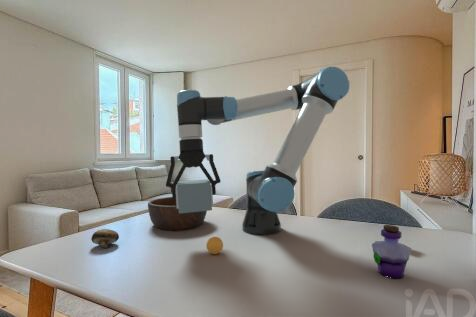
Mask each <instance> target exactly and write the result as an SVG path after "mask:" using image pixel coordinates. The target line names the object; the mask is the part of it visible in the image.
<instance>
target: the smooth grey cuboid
mask: <svg viewBox="0 0 476 317" xmlns="http://www.w3.org/2000/svg"><path fill="white" fill-rule="evenodd" d="M176 188H177V190H178V206H179V213H189V212H199V211H207V212H208V211H209V212H210V211H213V206H212V200H211V183H210V181H209V180H208V178H207V179H195V180H183V181H180V180H179V181H178V183H177V185H176Z"/></svg>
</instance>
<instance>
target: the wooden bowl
mask: <svg viewBox="0 0 476 317" xmlns="http://www.w3.org/2000/svg"><path fill="white" fill-rule="evenodd" d="M147 208H148V216H149V218H150V221H151V223H152V224H153V226H154V227H155V228H156V229H159V230H163V231H183V230H184V231H185V230H190V229H194V228H197V227H200V226H201V225H202V224H203V223H204V220H205V219H206V216H207V212H208V211H199V212H189V213H179V209H177V205H176V198H173V197H172V196H166V197H160V198H154V199H152V200H150V201H148V203H147Z"/></svg>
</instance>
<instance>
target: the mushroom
mask: <svg viewBox="0 0 476 317" xmlns="http://www.w3.org/2000/svg"><path fill="white" fill-rule="evenodd" d="M119 238H120V236H119V233H118V232H117V231H116V230H113V229H107V228H103V229H98V230H96V231H94V232H93V234H92V235H91V239H90V240H91V242H92V243H93V244H95V245H98V246H99V247H102V248H104V249H107V248H109V245H111V244H114V243H116V242H118V241H119Z"/></svg>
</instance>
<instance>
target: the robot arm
mask: <svg viewBox="0 0 476 317" xmlns="http://www.w3.org/2000/svg"><path fill="white" fill-rule="evenodd" d="M349 89H350V80H349V78H348V76H347V74H346V72H345V71H344V70H343V69H341V68H340V67H338V66H337V67H336V66H328V67H324V68H322V69H320V70H319V71H318V72H317V73H315V74H313V75H312V76H310V77H308V78H307V79H305V80H304V81H302V82H300V83H297V84H294V85H290V86H288V87H287V89H283V90H278V91H272V92H267V93H263V94H258V95H253V96H248V97H243V98H239V99H238V98H237V99H236V98H235V97H234V96H210V97H209V96H207V97H203V96H201V93H200V91H198V90H194V89H186V90H185V89H184V90H180V91H178V93H177V95H176V108H177V122H178V123H177V124H178V137H179V142H178V143H179V155H177V156H176V155H175V156H172V155H171V156H170V166H169V171H168V173H167V178H166V182H165V186H166V187H167V188H171V197H173V198H176V205H177V209H179V206H178V190H177V184H178V182H180V179H181V177H182V176H183V173H184V172H185V170H186V169H187V168H200V170H201V171H202V172H203V174H204V175H205V177H206V178H207V179H208V180H209V181H210V183H211V200H212V207H213V206H214V197H213V196H215V195H216V194H217V193H216V192H217V190H216V185H217V184H220V183H221V178H220V175H219V173H218V169H217V167H216V165H215V162H214V154H205V152H204V142H203V141H204V139H202V137H203V125H202V122H203V121H207V122H208V123H209V124H211V125H212V126H217V125H219V126H220V125H221V124H224V123H228V122H231V121H237V120H242V119H246V118H252V117H255V116H261V115H265V114H270V113H274V112H280V111H284V110H289V109H290V110H292V111H297V110H299V113H298V114H297V116H296V118H295V120H294V122H293V124H292V126H291V128H290V130H289V131H288V134H287V135H286V137H285V140H284V142H283V143H282V145H281V147H280V149H279V151H278V152H277V154H276V157H275V159H274V161H273V162H272V163H270V164H267V165H266V167H265V168H264V170H253V171H248V172H247V173H246V178H245V181H246V210H245V211H246V212H245V214H244V218H243V221H242V226H241V227H242V231H244V232H246V233H248V234H254V235H273V234H277V233H279V232H281V231H282V230H281V229H282V227H281V226H282V225H281V221H280V218H279V214H278V213H279V212H283V211H285V210H286V209H288V208H289V207H290V206H291V205H292V203H293V202H294V200H295V190H294V188H295V186H296V184H297V183H298V179H297V176H296V174H297V172H298V170H299V168H300V166H301V164H302V162H303V160H304V158H305V156H306V154H307V153H308V152H309V151H308V150H309V148H310V147H311V144H312V143H313V141H314V139H315V137H316V136H317V132H319V131H318V130H319V129H320V126H322V123H323V121H324V119H325V117H326V116H327V115H329V114H331V113H333V111H334V109H335V107H336V105H337V103H338V102H339V101H340V100H342V99H343V98H345V97H346V96H347V94H348V93H349V91H350V90H349ZM205 159H206V160H207V161H209V166H210V168H211V170H212V173H213V176H214V178H213V177H212V176H211V174H210V173H209V171H208V169H207V168H206V167H205V166H204V164H203V161H204V160H205ZM178 161H180V162H181V163H182V165H181V167H180V169H179V171H178V173H177V175H176V177H175V179H174V181H173V183H171V182H172V178H173V174H174V170H175V166H176V164H177V163H178Z"/></svg>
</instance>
